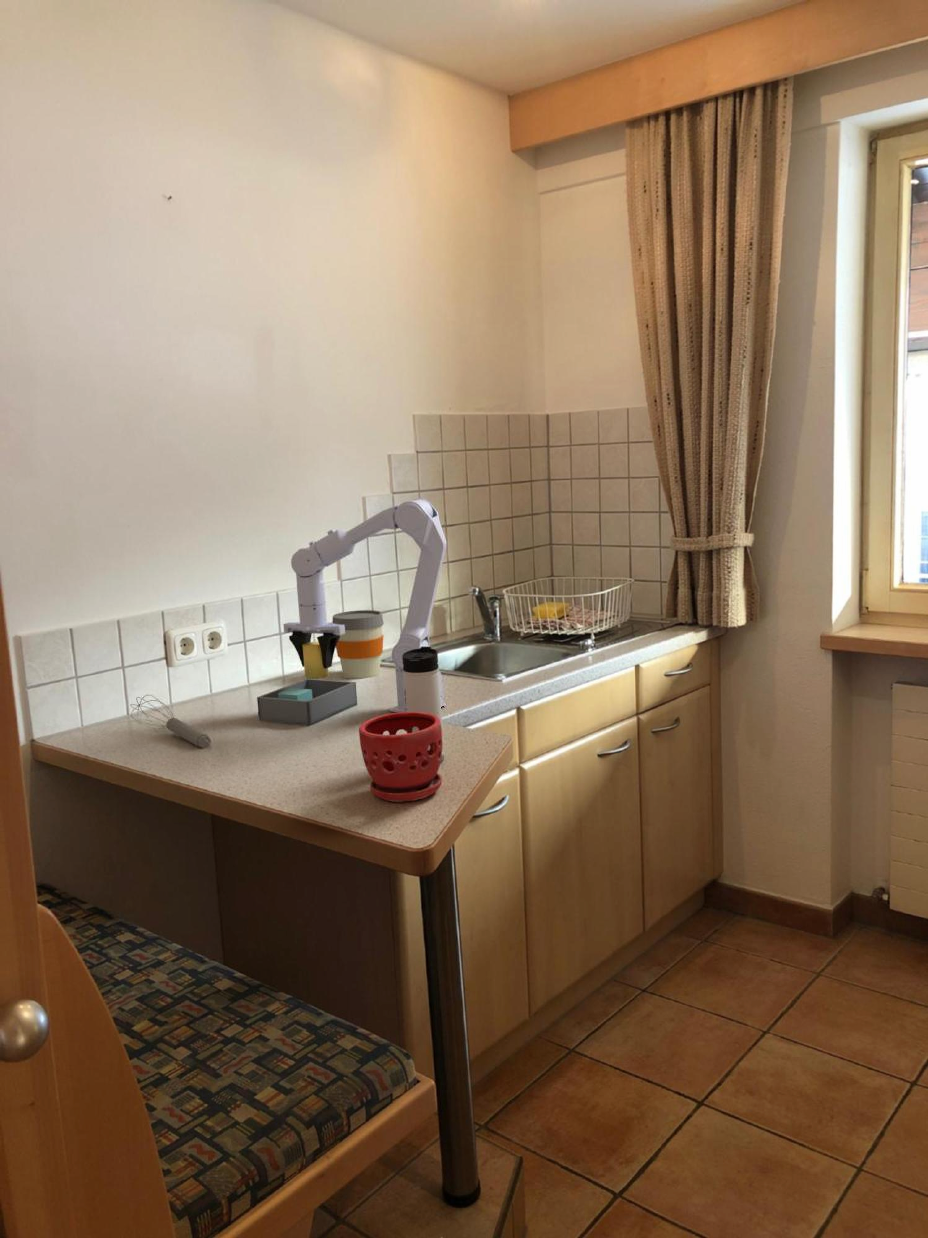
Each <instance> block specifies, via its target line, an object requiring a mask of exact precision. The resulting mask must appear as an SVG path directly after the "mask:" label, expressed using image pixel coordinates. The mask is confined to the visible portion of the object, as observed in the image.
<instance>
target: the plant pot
mask: <svg viewBox="0 0 928 1238" xmlns="http://www.w3.org/2000/svg"><path fill="white" fill-rule="evenodd" d="M413 727H417V728H418V729H419V731H417V732H413ZM401 730H402V731H405V732H406V733H403V734H402V733H401V734H399V733H398V731H401ZM442 731H443V727H442V728H441V722H440V719H439V718H438V717H437V716H435V715H433V714H430V713H424V712H391V713H386V714H382V715H378V716H375V717H372V718H370V719H368V720H366V721H364V722H363V723H361V724H360V726H359V727H358V736H359V744H360V750H361V753H362V758H363V762H364V766H365V768H366V771H367V772H368V775H369V776H370V779H372V780H371V782H370V784H369V789H370V791H371V792H372V793H373V795H375V796H376V797H377V798H380V799H381V800H384V801H387V802H388V801H389V802H397V803H398V802H399V803H400V802H402V803H403V802H404V801H405V802H412V801H420V800H419V799H425V798H427V797H429V796H431V795H433V794H434V793H436V792H438V790H439V789H440V788H441V785H442V782H443V778H442V776H441V775H440V774H439V769H440V766H441V763H442V762H441V758H442V745H443V746H444V743H443V744H442ZM385 732H388V734H384V733H385ZM397 733H398V734H397ZM407 733H408V734H407ZM429 745H430V750H429V749H428V746H429Z"/></svg>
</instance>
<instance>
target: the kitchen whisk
mask: <svg viewBox="0 0 928 1238" xmlns="http://www.w3.org/2000/svg"><path fill="white" fill-rule="evenodd" d="M148 696H150V697H152V698H155V699H154V700H148V701H147V700H146V699H145V697H148ZM138 699H141V700H140V702H138ZM142 700H143V701H145V702H142ZM150 702H158V703H160V704H161V705H162V707H164V709H165V711H166V712H167V714H168V715H169V716H170V717H169V716H168V715H166V714H164V713H162V712H161V711H160V710H159V708H156V706H154V705H153V704H151V703H150ZM136 703H137V704H135V703H134V704H133V703H132V704H130V707H131V708H132V711H131V712H130V716H131V717H132V719H133V720H135V721H137V722H139V723H140V722H141V723H142V724H147V725H153V726H159V727H160V728H159V729H158V730H166V729H167V730H168V731H170V732H172V733H173V734H176V736H179V737H181V738H183V739H184V740H186V741H187V742H189V743H191V744H193V745H194V746H197V747H198V748H202V749H207V748H209V747H210V748H209V749H210V750H211V749H212V745H211V744H212V743H211V742H212V740H211V738H210V737H209V736H208V735H207V734H205V733H204V732H202V731H200V730H198V729H196V728H194V727H192V726H191V725H189V724H187V723H185V722H183V721H182V720H180V719H178V718H175V716H174V714H173V713H172V711H171V710H170V708H169V707H168V706H167V705H166V704H165V703H164V702H161V700H159V699H158V698H157V697H155V696H154V695H152V694H145V695H144V696H143V697H139V696H137V697H136ZM145 703H148V704H149V705H150V706H151V707H153V708H151V707H149V706H148V707H147V706H144V705H143V704H145ZM134 706H136V707H134ZM142 707H143V708H145V709H146V708H147V709H151V710H152V711H155V712H157V713H160V714H161V715H162V716H164V717H165V718H166V719H167V721H164V720H162V719H161V718H157V717H155V716H154V715H151V714H148V713H146V712H144V710H143V709H142ZM134 710H136V711H137V712H136V713H137V714H139V712H140V713H142V714H144V715H145V716H148V717H152V718H154V719H156V720H159V721H161V722H163V723H165V725H164V724H163V725H162V724H156V723H155V724H154V723H148V722H145V721H142V720H140V721H139V719H136V718H134V716H133V712H134ZM168 710H169V711H168ZM171 715H172V716H171ZM163 726H166V727H163ZM161 727H163V728H161Z"/></svg>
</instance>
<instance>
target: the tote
mask: <svg viewBox="0 0 928 1238" xmlns="http://www.w3.org/2000/svg"><path fill="white" fill-rule="evenodd" d="M291 688H299V689H311V690H312V698H313V699H311V700H309V701H303V700H291V699H280V698H278V693H281V692H284V691H286V690H289V689H291ZM256 701H257V712H258V721H259V722H260V721H261V722H269V723H281V724H289V725H290V724H291V725H298V726H299V725H300V726H313V725H315V724H317V723H320V722H323V721H324V720H326V719H329V718H331V717H334V716H335V715H337V714H340V713H341V712H344V711H347V710H349V709H350V708H353V707H355V706H357V705H358V696H357V682H355V681H346V680H345V681H343V680H342V681H341V680H332V679H331V680H330V679H320V678H318V679H308V678H304V679H302V680H299V681H296V682H294V683H291V684H288V685H285V686H283V687H280V688H278V689H275V690H273V691H270V692H268V693H265V694H263V695H260V696H257V698H256Z"/></svg>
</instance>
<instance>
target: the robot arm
mask: <svg viewBox="0 0 928 1238" xmlns="http://www.w3.org/2000/svg"><path fill="white" fill-rule="evenodd" d="M386 529H387V530H397V529H400V530H401V531H402V532H403V533H405V534H407V535H408V536H409V537H410V538H412V540H414V542H415V544H416V545H417V546H418V547H419V549H420V553H419V559H418V563H417V567H416V572H415V577H414V582H413V586H412V590H411V595H410V600H409V603H408V609H407V612H406V613H407V614H406V618H405V623H404V625H403V628H402V630H401V632H400V635H399V639H398V642H397V643H396V644H395V645H394V646H393V648H392V650H391V659H392V662H393V664H394V665H395V667H394V669H395V681H396V682H395V683H396V697H397V698H396V699H397V700H396V701H397V705H396V706H393V707H391V708H390V709H389V712H391V713H398V712H406V710H405V695H404V680H403V674H404V673H403V666H404V665H403V659H402V655H403V654H404V653H405V652H407V651H410V650H413V649H419V648H420V647H431V644H430V632H431V629H430V623H431V622H430V621H431V617H432V613H433V610H434V609H433V608H434V604H435V600H436V594H437V591H438V585H439V582H440V581H439V580H440V577H441V573H442V568H443V563H444V558H445V555H446V550H447V539H446V536H445V533H444V530H443V527H442V525H441V521H440V517H439V512H438V511H437V510H436V509H435V507H434V506H433V504H431V503H430V502H429V501H428V500H427V499H424V498H421V497H420V498H414V499H412V500H407V501H403V502H402V503H400V504H398V505H394V506H392V507H389V508H386V509H384V510H381V511H380V512H378V513H376V514H375V515H373V516H371V517H369V518H367V520H364V521H363V522H361V523H359V524H358V525H356V526H354V527H353V528H351V529H349V530H348V531H347V530H345V529H342V528H338V529H337V530H335V529H334V528H332V529H331V530H328V531H327V535H325V536H324V537H322V538H320V539H318V540H316V541H315V540H311V541H310V542H309V543H308V545H309V546H308V547H302V548H298V549H297V551H296V552H295V553H294V554H293V555H292V557H291V560H290V564H291V568H292V570H293V571H294V573H295V577H296V578H295V579H296V593H297V603H298V617H299V618H298V619H299V622H298V621H297V622H290V621H289V622H286V623H283V633H285V634H289V633H291V635H289V637H288V639H289V641H290V643H291V644H292V645H293V647H294V648H295V651H296V653H297V655H298V658H299V661H300V663H301V666H302V667H303V668H304V658H303V644H305V643H309V642H312V641H311V640H312V634H317V635H319V636H317V637H316V638H317V642H319V645H320V648H321V653H322V662H323V667H324V668H328V669H329V668H331V667H332V666H333V658H334V654H335V650H336V645H337V642H338V640H339V638H340V635H343V634H345V625H340V624H333V623H332V622H328V618H327V617H328V616H327V605H326V604H327V603H326V593H325V590H326V589H325V582H324V581H325V580H324V569H325V568H327V567H329V566H331V565H333V564H335V563H337V562H339V561H341V560H343V559H344V558H346V557H347V556H350V555H351V554H353V553H354V550H355V546H356V544H358V543H361V542H362V541H365V540H366V539H368V538H370V537H372V536H374V535H376V534H378V533H380V532H382V531H384V530H386ZM320 634H321V635H320ZM438 672H439V680H440V697H441V707H442V706H444V707H446V706H447V704H446V703H445V696H444V695H445V694H444V693H445V692H444V680H443V679H444V678H443V675H442V673H441V671H440V670H439V671H438ZM445 705H446V706H445ZM442 708H443V707H442Z"/></svg>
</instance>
